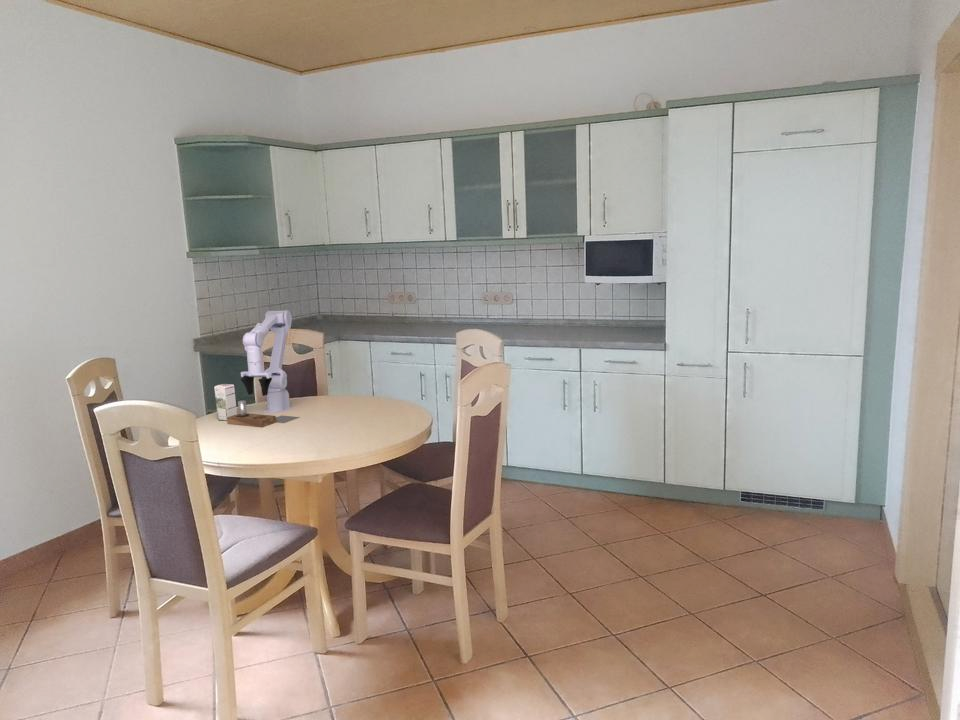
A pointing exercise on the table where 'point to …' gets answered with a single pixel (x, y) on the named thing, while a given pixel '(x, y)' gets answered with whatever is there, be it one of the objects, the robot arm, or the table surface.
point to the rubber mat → (285, 419)
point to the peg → (242, 408)
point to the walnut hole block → (252, 420)
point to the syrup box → (225, 401)
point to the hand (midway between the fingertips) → (257, 394)
